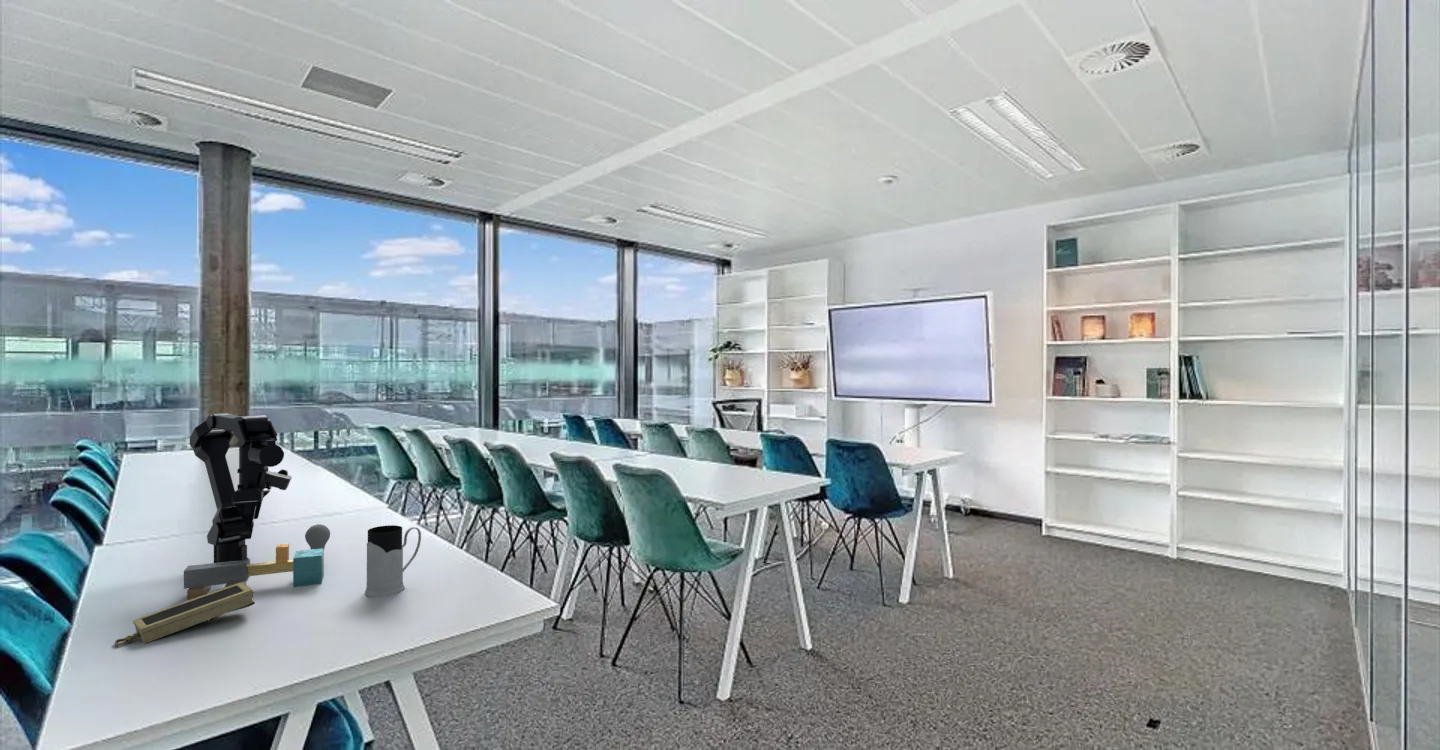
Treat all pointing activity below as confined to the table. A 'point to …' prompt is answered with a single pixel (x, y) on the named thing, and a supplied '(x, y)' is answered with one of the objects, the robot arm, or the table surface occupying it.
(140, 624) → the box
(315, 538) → the light bulb
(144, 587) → the table surface
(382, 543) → the glass holder
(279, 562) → the yellow sliding bolt
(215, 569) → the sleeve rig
